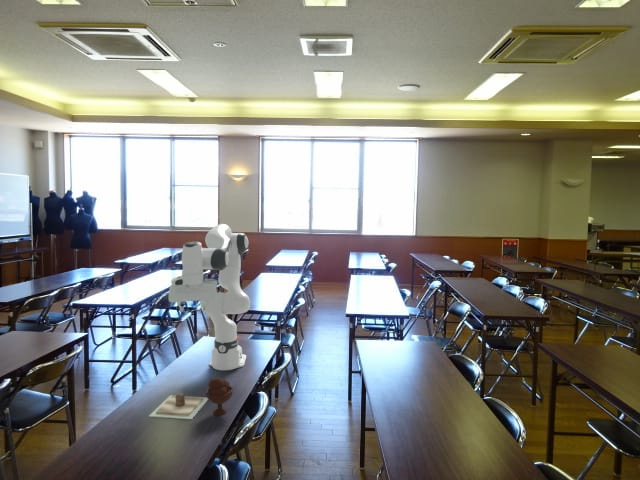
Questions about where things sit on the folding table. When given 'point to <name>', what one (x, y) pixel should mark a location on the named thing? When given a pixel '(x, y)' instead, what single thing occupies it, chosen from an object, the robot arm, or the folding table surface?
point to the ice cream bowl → (219, 393)
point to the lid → (179, 405)
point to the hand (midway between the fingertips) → (193, 310)
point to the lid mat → (179, 415)
